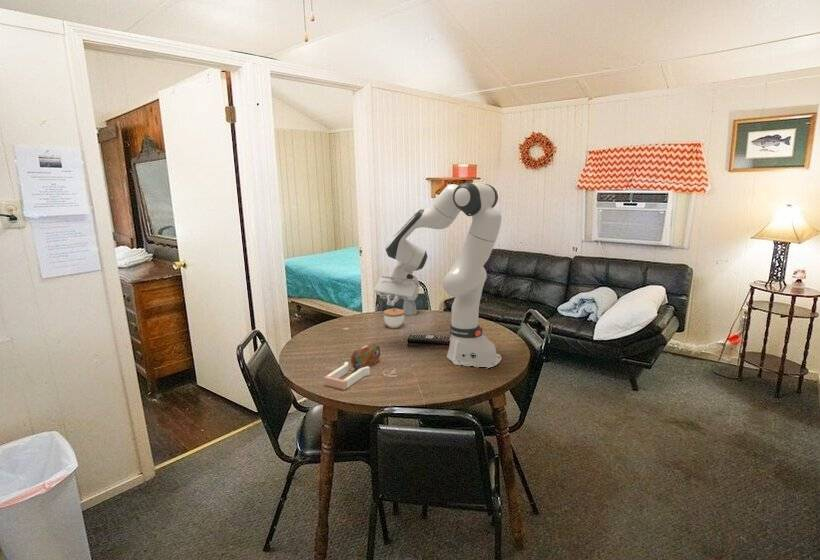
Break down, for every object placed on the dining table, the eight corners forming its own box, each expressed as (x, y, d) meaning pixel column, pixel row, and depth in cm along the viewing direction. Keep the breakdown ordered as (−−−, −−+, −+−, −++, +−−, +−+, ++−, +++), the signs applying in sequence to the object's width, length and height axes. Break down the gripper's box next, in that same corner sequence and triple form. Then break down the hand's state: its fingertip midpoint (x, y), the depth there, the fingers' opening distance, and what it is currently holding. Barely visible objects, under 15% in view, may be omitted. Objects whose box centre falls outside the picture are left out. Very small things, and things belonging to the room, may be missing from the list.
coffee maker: (423, 314, 244) (423, 282, 239) (411, 317, 238) (411, 285, 233) (404, 308, 254) (404, 278, 250) (393, 311, 248) (392, 280, 244)
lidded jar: (380, 324, 227) (380, 307, 224) (399, 321, 231) (399, 304, 229) (388, 330, 217) (388, 312, 215) (408, 327, 221) (407, 309, 219)
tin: (355, 373, 169) (355, 353, 168) (349, 371, 171) (349, 351, 169) (381, 360, 181) (380, 341, 179) (375, 359, 183) (375, 340, 181)
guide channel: (371, 374, 169) (370, 366, 168) (347, 390, 155) (347, 383, 155) (345, 368, 174) (345, 361, 173) (321, 384, 161) (320, 376, 160)
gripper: (378, 271, 198) (366, 297, 192) (419, 277, 189) (408, 304, 183) (383, 279, 203) (372, 305, 197) (423, 284, 194) (413, 311, 188)
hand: (390, 304), depth 190 cm, fingers closed
